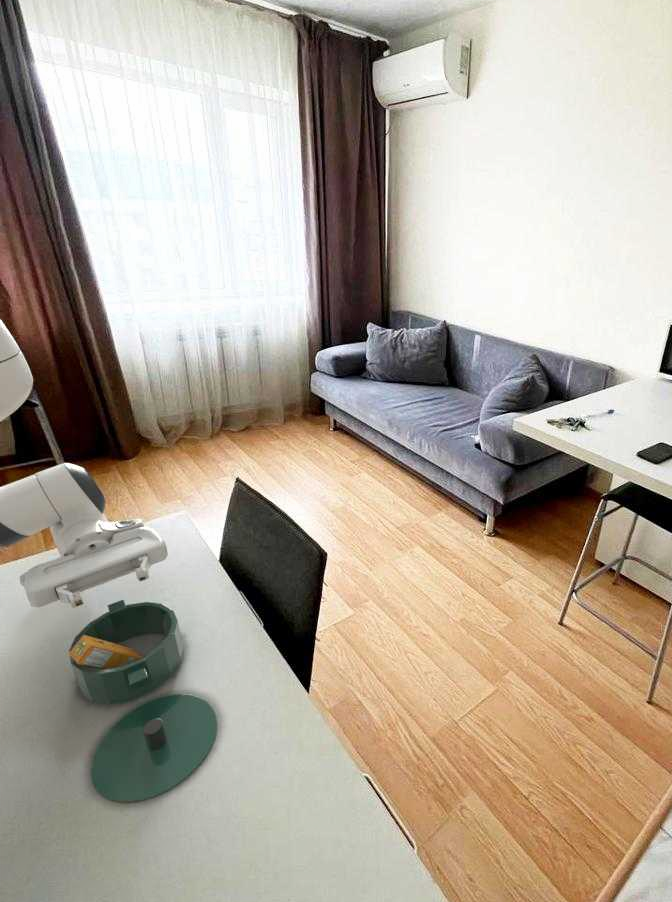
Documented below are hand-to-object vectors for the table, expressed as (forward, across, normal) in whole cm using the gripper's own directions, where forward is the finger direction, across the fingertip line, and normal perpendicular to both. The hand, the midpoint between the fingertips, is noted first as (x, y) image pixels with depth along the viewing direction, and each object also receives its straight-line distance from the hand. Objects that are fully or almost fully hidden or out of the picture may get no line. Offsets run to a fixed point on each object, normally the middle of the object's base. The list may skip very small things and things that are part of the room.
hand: (111, 589), depth 81 cm
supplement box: (+6, 0, +12) cm, 13 cm away
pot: (+6, 0, +13) cm, 14 cm away
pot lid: (+22, -2, +12) cm, 26 cm away
